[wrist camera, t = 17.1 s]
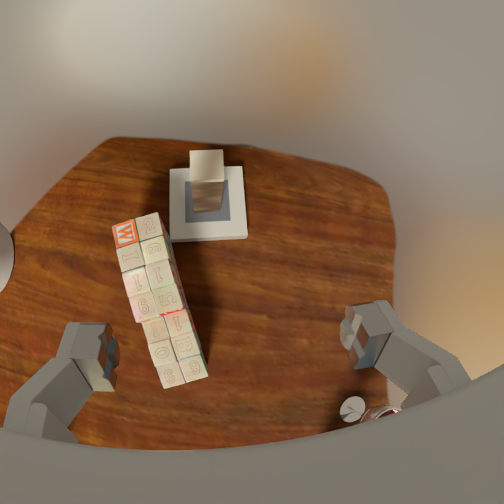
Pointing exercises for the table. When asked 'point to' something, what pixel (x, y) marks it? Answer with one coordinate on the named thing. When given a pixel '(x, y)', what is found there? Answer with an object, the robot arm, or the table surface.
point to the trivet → (207, 223)
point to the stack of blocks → (159, 299)
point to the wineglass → (356, 407)
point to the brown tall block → (206, 179)
